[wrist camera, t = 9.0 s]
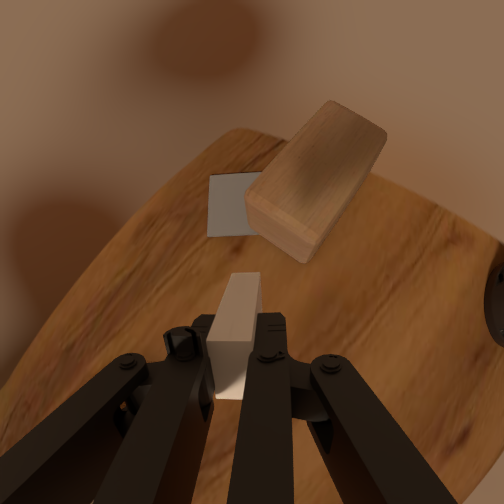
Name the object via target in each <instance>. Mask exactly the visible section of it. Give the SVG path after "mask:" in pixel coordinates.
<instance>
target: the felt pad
mask: <svg viewBox="0 0 504 504" xmlns="http://www.w3.org/2000/svg"><path fill="white" fill-rule="evenodd" d="M261 173H262V172H254V173H237V174H223V175H211V176H210V183H209V203H208V228H207V236H208V237H218V236H239V235H260V234H258V233H257V232H256V231H254V230H253V229H251V228H250V226H249V225H248V221H247V214H246V207H245V201H244V195H245V191H246V190H247V189H248V187H249V186H250V185H251V184H252V183H253V182H254V181H255V179H256V178H257V177H258V176H259V175H260V174H261Z"/></svg>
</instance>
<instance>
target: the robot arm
mask: <svg viewBox="0 0 504 504" xmlns="http://www.w3.org/2000/svg"><path fill="white" fill-rule="evenodd" d="M484 309H485V318H486V322H487V326H488V329H489V332H490V334H491V336H492V337H493V339H494V340H495V342H496V343H497V344H499V345H500V346H502V347H504V263H502V264H500V265H498V266H497V267H496V268H495V269H494V270H493V271H492V273H491V275H490V277H489V279H488V282H487V285H486V290H485V298H484ZM163 338H164V342H165V346H166V350H167V354H168V355H167V357H166V359H165V361H160V362H153V363H146V360H145V358H144V357H143V356H142V355H140V354H137V353H127V354H124V355H121V356H119V357H117V358H115V359H114V360H113V361H112V362H111V363H109V364H108V365H107V366H106V367H105V368H104V369H102V370H101V371H100V372H99V373H98V374H96V375H95V376H94V377H93V378H92V379H91V380H89V381H88V382H87V383H86V384H85V385H84V386H82V387H81V388H80V389H79V390H78V391H77V392H75V393H74V394H73V395H72V396H71V397H70V398H68V399H67V400H66V401H65V402H64V403H63V404H61V405H60V406H59V407H58V408H57V409H56V410H54V411H53V412H52V413H51V414H50V415H49V416H47V417H46V418H45V419H44V420H43V421H42V422H40V423H39V424H38V425H37V426H36V427H35V428H34V429H32V430H31V431H30V432H29V433H28V434H27V435H25V436H24V437H23V438H22V439H21V440H20V441H19V442H17V443H16V444H15V445H14V446H13V447H12V448H10V449H9V450H8V451H7V452H6V453H5V454H4V455H2V456H1V457H0V504H91V503H92V502H93V503H92V504H191V501H192V497H193V493H194V489H195V485H196V480H197V476H198V472H199V468H200V464H201V460H202V456H203V452H204V447H205V443H206V439H207V435H208V431H209V427H210V423H211V418H212V414H213V410H214V403H213V398H212V397H213V394H214V390H215V394H216V399H242V406H241V413H240V420H239V426H238V433H237V440H236V446H235V453H234V459H233V466H232V472H231V479H230V485H229V492H228V498H227V504H294V477H293V441H292V418H297V419H302V420H306V421H307V425H308V427H309V430H310V432H311V434H312V436H313V438H314V441H315V443H316V445H317V447H318V449H319V452H320V454H321V456H322V458H323V460H324V463H325V465H326V467H327V469H328V471H329V473H330V476H331V478H332V480H333V482H334V484H335V486H336V489H337V491H338V493H339V495H340V497H341V499H342V501H343V503H344V504H458V503H457V502H456V500H455V499H454V498H453V496H452V495H451V494H450V492H449V491H448V490H447V488H446V487H445V486H444V484H443V483H442V482H441V480H440V479H439V478H438V476H437V475H436V474H435V472H434V471H433V470H432V468H431V467H430V466H429V464H428V463H427V462H426V460H425V459H424V458H423V456H422V455H421V454H420V452H419V451H418V450H417V448H416V447H415V446H414V444H413V443H412V442H411V441H410V439H409V438H408V437H407V435H406V434H405V433H404V431H403V430H402V429H401V427H400V426H399V425H398V423H397V422H396V421H395V420H394V418H393V417H392V416H391V414H390V413H389V412H388V410H387V409H386V408H385V407H384V405H383V404H382V403H381V401H380V400H379V399H378V397H377V396H376V395H375V394H374V392H373V391H372V390H371V388H370V387H369V386H368V384H367V383H366V382H365V381H364V379H363V378H362V377H361V375H360V374H359V373H358V372H357V370H356V369H355V368H354V366H353V365H352V364H351V363H350V361H349V360H347V359H346V358H345V357H342V356H340V355H334V354H328V355H322V356H319V357H317V358H315V359H314V360H313V361H312V363H311V364H308V363H303V362H299V361H297V360H294V359H293V358H292V357H290V355H289V354H288V351H287V336H286V321H285V317H284V316H283V315H282V314H281V313H280V312H278V313H262V297H261V279H260V272H250V273H232V274H231V277H230V280H229V282H228V285H227V287H226V290H225V292H224V295H223V298H222V300H221V303H220V305H219V308H218V311H217V313H216V315H207V314H201V315H200V316H199V317H198V318H196V319H195V320H194V322H193V324H192V326H191V327H189V326H181V327H176V328H172V329H170V330H168V331H167V332H166V333H165V334H164V335H163ZM124 401H125V404H126V407H125V408H123V409H121V408H120V405H121V404H122V403H123V402H124ZM93 500H94V501H93Z"/></svg>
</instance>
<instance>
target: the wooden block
mask: <svg viewBox="0 0 504 504" xmlns="http://www.w3.org/2000/svg"><path fill="white" fill-rule="evenodd" d="M386 141H387V133H386V132H385V131H384V130H383V129H382V128H380V127H378V126H377V125H375V124H373V123H372V122H370V121H369V120H367V119H365V118H363V117H362V116H360V115H358V114H356V113H355V112H353V111H351V110H349V109H348V108H346V107H344V106H342V105H340V104H338V103H336V102H335V101H327V102H326V103H325V104H324V105H323V106H322V107H321V108H320V109H319V110H318V111H317V112H316V114H315V115H314V116H313V117H312V118H311V119H310V120H309V121H308V122H307V123H306V124H305V125H304V126H303V127H302V128H301V130H300V131H299V132H298V133H297V134H296V135H295V136H294V137H293V138H292V139H291V140H290V141H289V143H288V144H287V145H286V146H285V147H284V148H283V149H282V150H281V151H280V152H279V154H278V155H277V156H276V157H275V158H274V159H273V160H272V161H271V163H270V164H269V165H268V166H267V167H266V168H265V169H264V170H263V172H262V173H261V174H260V175H259V176H258V177H257V178H256V179H255V181H254V182H253V183H252V184H251V185H250V186H249V187H248V189H247V190H246V191H245V195H244V201H245V207H246V214H247V221H248V225H249V226H250V228H251V229H253V230H254V231H256V232H257V233H258V234H260V235H261V236H263V237H264V238H266V239H267V240H268V241H270V242H271V243H273V244H274V245H276V246H277V247H279V248H280V249H281V250H283V251H284V252H286V253H287V254H288V255H290V256H291V257H293V258H294V259H296V260H297V261H298V262H300V263H307V262H309V261H310V260H311V259H312V257H313V256H314V254H315V253H316V251H317V250H318V249H319V247H320V246H321V244H322V243H323V241H324V240H325V239H326V237H327V236H328V234H329V233H330V231H331V230H332V228H333V227H334V225H335V224H336V222H337V221H338V219H339V218H340V216H341V215H342V213H343V212H344V210H345V209H346V207H347V206H348V204H349V203H350V201H351V200H352V198H353V197H354V195H355V194H356V192H357V191H358V189H359V187H360V186H361V184H362V183H363V181H364V180H365V178H366V177H367V175H368V173H369V172H370V170H371V168H372V167H373V165H374V163H375V161H376V159H377V158H378V156H379V154H380V152H381V150H382V148H383V146H384V145H385V143H386Z"/></svg>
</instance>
